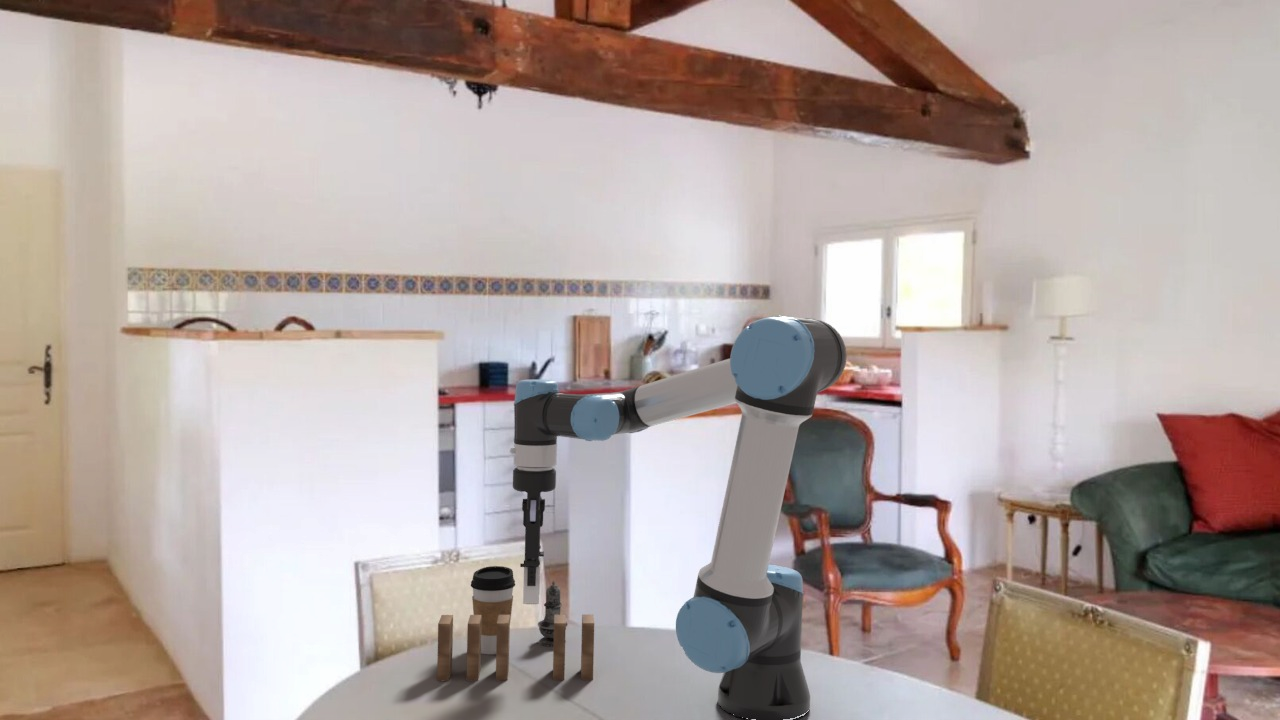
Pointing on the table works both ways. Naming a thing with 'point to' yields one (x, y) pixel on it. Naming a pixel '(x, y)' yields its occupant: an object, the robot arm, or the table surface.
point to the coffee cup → (492, 601)
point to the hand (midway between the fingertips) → (531, 598)
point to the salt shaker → (550, 615)
